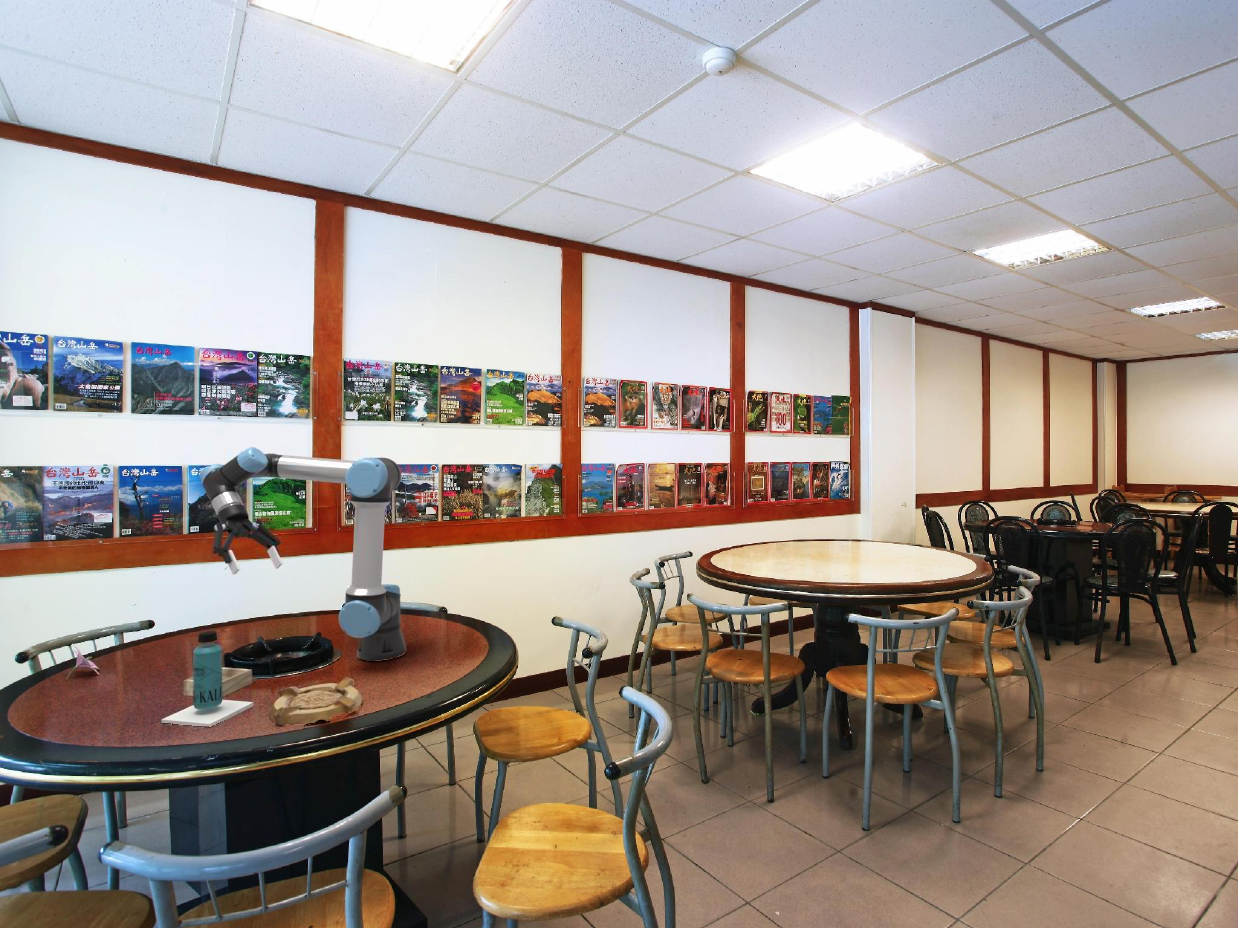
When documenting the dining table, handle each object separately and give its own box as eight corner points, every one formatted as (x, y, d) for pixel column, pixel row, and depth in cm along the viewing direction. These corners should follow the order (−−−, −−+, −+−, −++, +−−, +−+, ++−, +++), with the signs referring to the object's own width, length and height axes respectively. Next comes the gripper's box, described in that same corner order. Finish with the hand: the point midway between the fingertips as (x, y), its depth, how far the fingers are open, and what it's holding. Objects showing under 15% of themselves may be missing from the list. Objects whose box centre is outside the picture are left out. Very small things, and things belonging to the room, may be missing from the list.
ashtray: (294, 692, 183) (294, 674, 183) (379, 692, 182) (379, 674, 182) (243, 728, 159) (243, 707, 159) (341, 728, 159) (340, 708, 159)
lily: (85, 686, 191) (104, 654, 194) (41, 674, 188) (61, 641, 192) (100, 686, 201) (118, 655, 205) (59, 674, 199) (78, 643, 203)
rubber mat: (253, 706, 172) (253, 702, 172) (210, 728, 158) (210, 723, 158) (207, 702, 175) (207, 698, 175) (161, 723, 161) (161, 719, 161)
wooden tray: (252, 683, 189) (251, 669, 189) (220, 698, 178) (219, 683, 178) (217, 680, 192) (217, 667, 192) (183, 695, 180) (183, 680, 180)
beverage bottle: (201, 706, 170) (200, 629, 169) (228, 705, 170) (227, 628, 170) (187, 716, 163) (185, 636, 163) (215, 715, 164) (214, 635, 163)
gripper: (261, 515, 211) (288, 570, 205) (182, 519, 189) (210, 581, 183) (274, 501, 209) (302, 557, 203) (195, 504, 186) (224, 566, 180)
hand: (258, 569), depth 193 cm, fingers open, 13 cm apart
